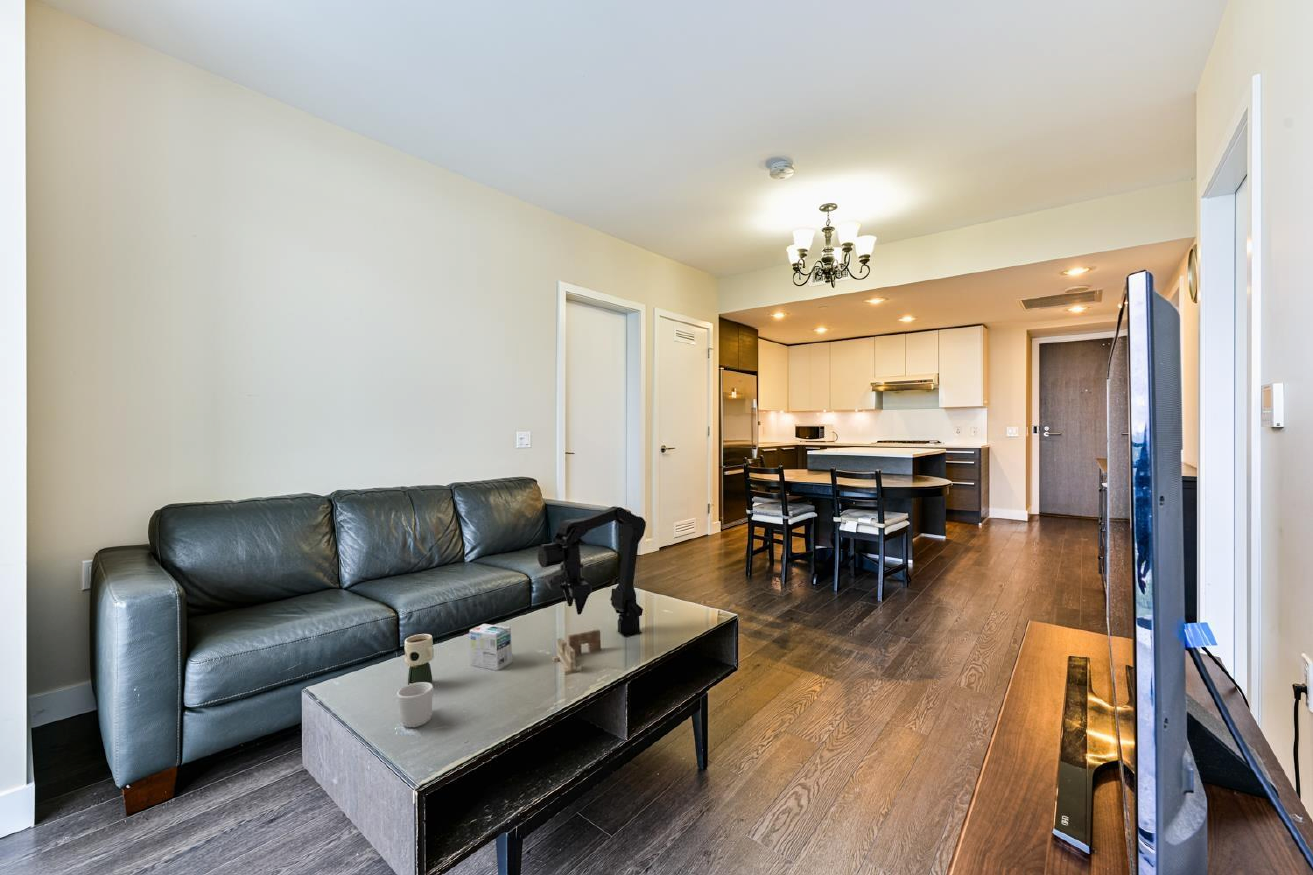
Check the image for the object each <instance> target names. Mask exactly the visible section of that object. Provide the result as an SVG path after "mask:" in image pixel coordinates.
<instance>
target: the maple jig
mask: <svg viewBox="0 0 1313 875" xmlns="http://www.w3.org/2000/svg"><path fill="white" fill-rule="evenodd" d="M556 642H557V643H556V644H557V655H555V656H552V657H551V660H552V662H554V663H555V662H560V663H561V664H562V665H563V666H564V667H565V668H564V669H562V673H563V674H564V675H569V674H572V673H577V672H578V673H579V672H581V671H582V666H580V665H578V666H576V656H575V651H574V650H573V649H572V648H571V647H570V646H569V645H568V643H567V641H565V639H564V638H562V637H560V638H556Z"/></svg>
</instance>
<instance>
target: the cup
mask: <svg viewBox="0 0 1313 875" xmlns="http://www.w3.org/2000/svg"><path fill="white" fill-rule="evenodd" d="M433 697H434V685H433V684H432V682H431V683H427V682H418V683H413V684H409V685H408V684H407V685H404V686H402V687H401V688H400V689H399V690H398V691H397V693H396V698H397V699H396V700H397V705H398V710H399V711H398V712H399V717H400V722H401V724H402V725H403V727H405V728H408V727H413V728H417V727H422V726H424V725H425V724H426V723H428V722H429V721H430V719H431V718H432V711H433Z"/></svg>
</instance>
